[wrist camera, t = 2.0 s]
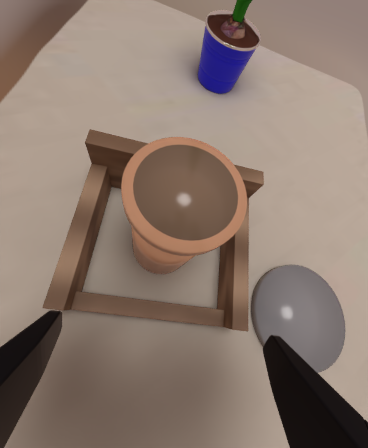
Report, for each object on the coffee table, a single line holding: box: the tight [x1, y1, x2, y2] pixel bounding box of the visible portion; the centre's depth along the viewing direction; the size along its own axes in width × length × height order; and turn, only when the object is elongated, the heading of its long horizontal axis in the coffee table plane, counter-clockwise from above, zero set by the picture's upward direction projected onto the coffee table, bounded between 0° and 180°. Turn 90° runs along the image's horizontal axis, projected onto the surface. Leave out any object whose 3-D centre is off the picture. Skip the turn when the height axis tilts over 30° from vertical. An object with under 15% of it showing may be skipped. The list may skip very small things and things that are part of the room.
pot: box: [121, 137, 247, 274], centre depth 18 cm, size 7×7×13 cm
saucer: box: [251, 265, 345, 373], centre depth 24 cm, size 11×11×1 cm
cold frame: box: [43, 129, 264, 331], centre depth 20 cm, size 15×17×7 cm
